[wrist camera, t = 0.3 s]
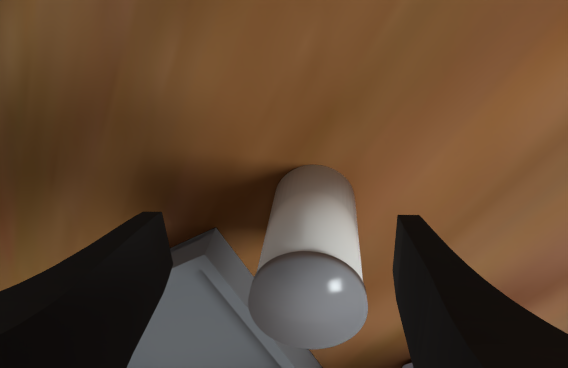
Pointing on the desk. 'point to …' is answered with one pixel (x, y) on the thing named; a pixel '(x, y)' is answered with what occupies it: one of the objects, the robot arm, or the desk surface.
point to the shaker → (310, 263)
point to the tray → (210, 316)
